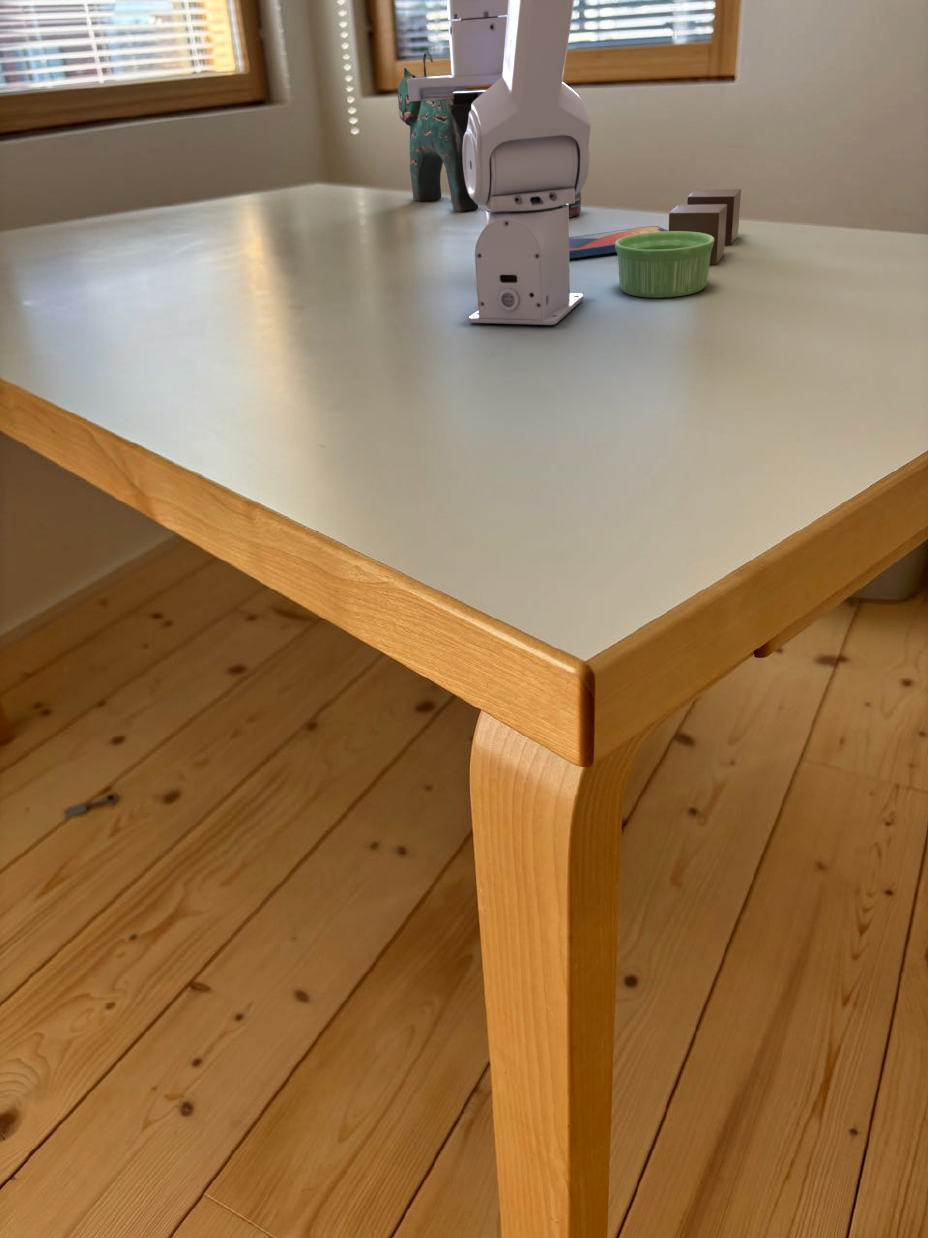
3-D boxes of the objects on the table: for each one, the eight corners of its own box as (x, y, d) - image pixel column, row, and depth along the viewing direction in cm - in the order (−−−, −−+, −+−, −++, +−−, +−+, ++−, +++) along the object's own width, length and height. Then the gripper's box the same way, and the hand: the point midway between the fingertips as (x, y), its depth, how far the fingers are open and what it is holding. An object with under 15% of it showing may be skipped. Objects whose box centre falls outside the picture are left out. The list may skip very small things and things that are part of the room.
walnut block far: (731, 245, 109) (734, 195, 106) (685, 245, 111) (687, 196, 108) (737, 236, 113) (741, 188, 110) (693, 236, 115) (695, 189, 112)
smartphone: (531, 252, 113) (530, 242, 113) (654, 234, 116) (654, 224, 115) (551, 263, 107) (550, 253, 107) (681, 245, 110) (681, 235, 109)
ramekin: (720, 278, 96) (723, 230, 93) (700, 301, 89) (702, 249, 86) (629, 276, 99) (629, 230, 97) (603, 298, 92) (603, 248, 90)
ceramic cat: (402, 199, 156) (389, 52, 146) (440, 194, 158) (430, 49, 148) (452, 214, 140) (441, 50, 130) (493, 208, 142) (486, 47, 132)
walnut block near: (716, 264, 101) (719, 212, 98) (667, 264, 103) (668, 212, 100) (724, 254, 105) (727, 203, 102) (676, 254, 107) (678, 204, 104)
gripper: (568, 11, 91) (570, 172, 98) (423, 23, 96) (435, 175, 103) (545, 13, 86) (549, 183, 93) (393, 25, 91) (407, 186, 98)
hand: (487, 180), depth 98 cm, fingers closed
